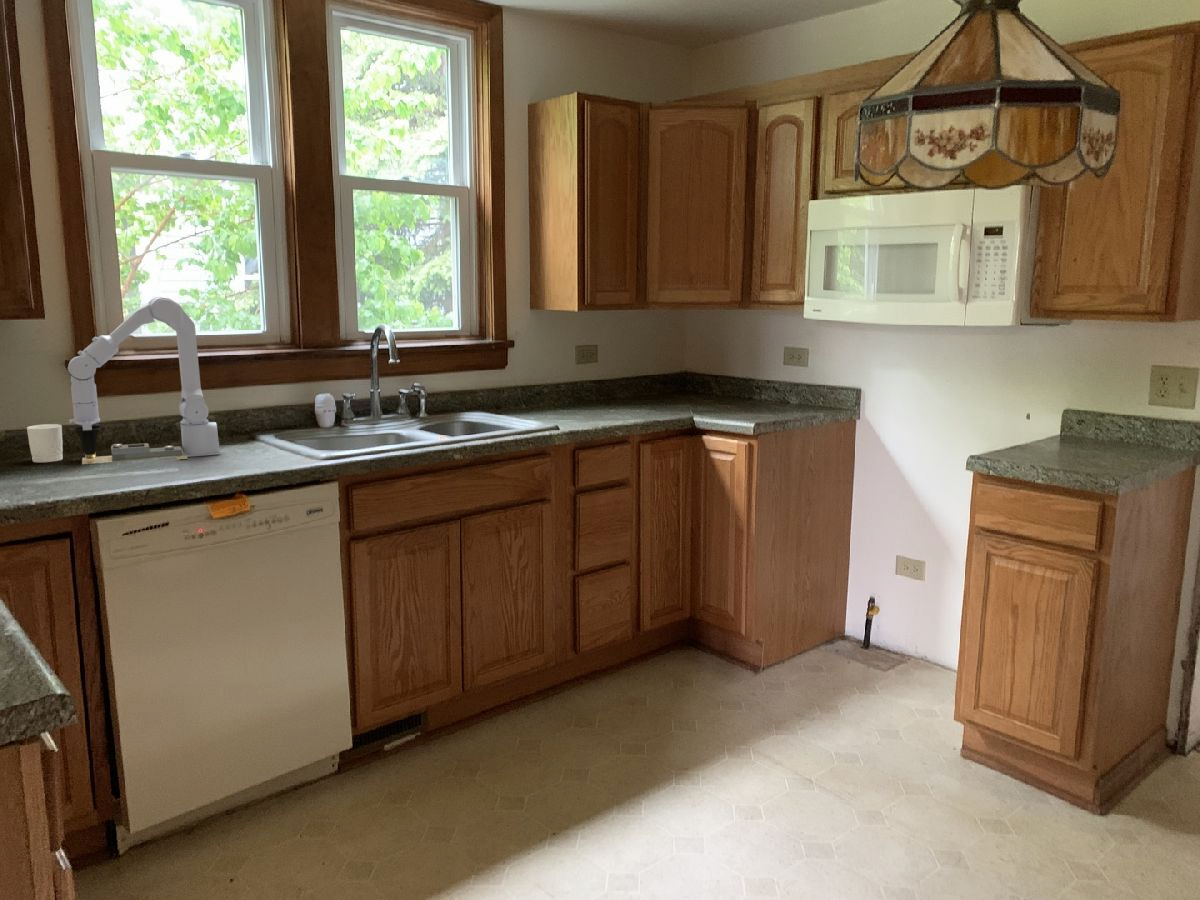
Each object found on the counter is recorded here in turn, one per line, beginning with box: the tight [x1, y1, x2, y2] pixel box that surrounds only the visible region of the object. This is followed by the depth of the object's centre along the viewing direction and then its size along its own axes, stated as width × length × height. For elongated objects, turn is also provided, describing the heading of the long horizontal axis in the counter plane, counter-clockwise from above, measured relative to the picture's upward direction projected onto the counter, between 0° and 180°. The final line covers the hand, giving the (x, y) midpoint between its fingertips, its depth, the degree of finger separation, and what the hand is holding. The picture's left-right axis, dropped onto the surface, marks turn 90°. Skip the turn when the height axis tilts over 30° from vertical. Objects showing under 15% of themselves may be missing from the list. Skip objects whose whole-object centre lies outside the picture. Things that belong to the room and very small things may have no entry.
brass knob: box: [84, 452, 97, 459], centre depth 239 cm, size 3×3×7 cm
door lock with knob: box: [81, 442, 189, 465], centre depth 245 cm, size 25×10×5 cm, turn 119°
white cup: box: [26, 423, 64, 463], centre depth 240 cm, size 8×8×10 cm
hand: (90, 453), depth 240 cm, fingers closed on brass knob, 3 cm apart
